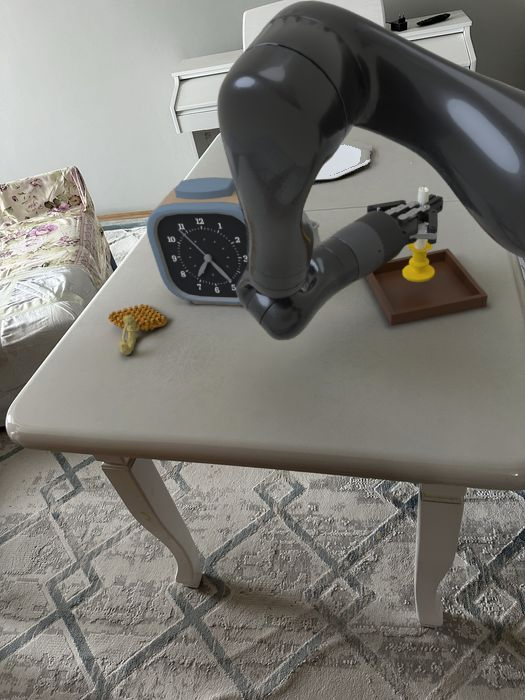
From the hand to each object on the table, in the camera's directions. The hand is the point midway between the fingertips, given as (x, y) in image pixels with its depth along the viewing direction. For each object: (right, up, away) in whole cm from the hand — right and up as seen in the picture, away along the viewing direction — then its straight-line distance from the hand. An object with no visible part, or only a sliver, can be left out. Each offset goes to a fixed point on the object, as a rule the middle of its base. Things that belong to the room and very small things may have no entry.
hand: (437, 201), depth 80 cm
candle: (-1, -10, +7) cm, 13 cm away
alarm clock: (-34, -13, +17) cm, 40 cm away
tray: (0, -13, +9) cm, 16 cm away
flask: (-17, -8, +19) cm, 27 cm away
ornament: (-49, -21, +12) cm, 55 cm away
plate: (-12, +27, +59) cm, 66 cm away
